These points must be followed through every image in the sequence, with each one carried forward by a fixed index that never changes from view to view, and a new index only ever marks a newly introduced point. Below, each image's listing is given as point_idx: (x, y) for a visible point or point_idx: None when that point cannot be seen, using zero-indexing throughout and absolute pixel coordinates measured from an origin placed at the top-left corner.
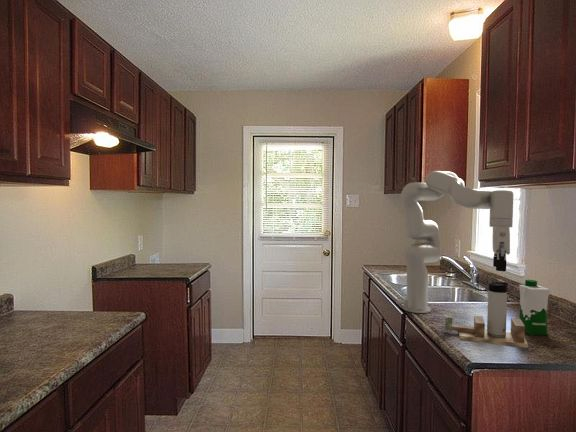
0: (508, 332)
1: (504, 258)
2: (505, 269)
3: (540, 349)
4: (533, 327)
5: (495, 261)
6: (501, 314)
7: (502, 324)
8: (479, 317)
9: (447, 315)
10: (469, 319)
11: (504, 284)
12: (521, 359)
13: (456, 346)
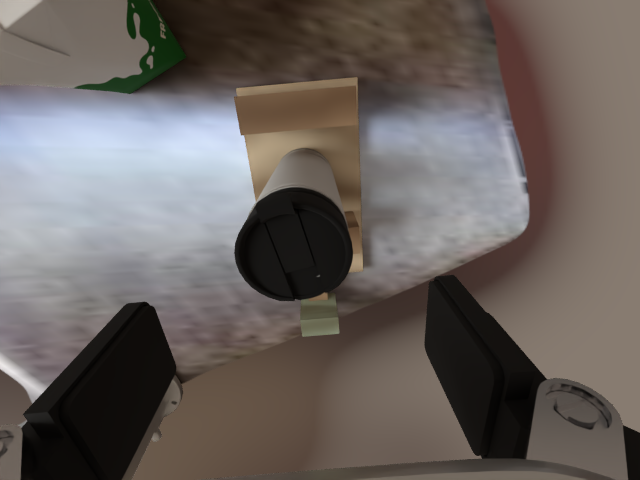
0: (245, 137)
1: (635, 431)
2: (457, 288)
3: (351, 34)
4: (171, 36)
5: (146, 410)
6: (334, 182)
7: (329, 168)
8: None
9: (315, 330)
10: (133, 255)
11: (275, 216)
12: (475, 107)
13: (428, 268)
